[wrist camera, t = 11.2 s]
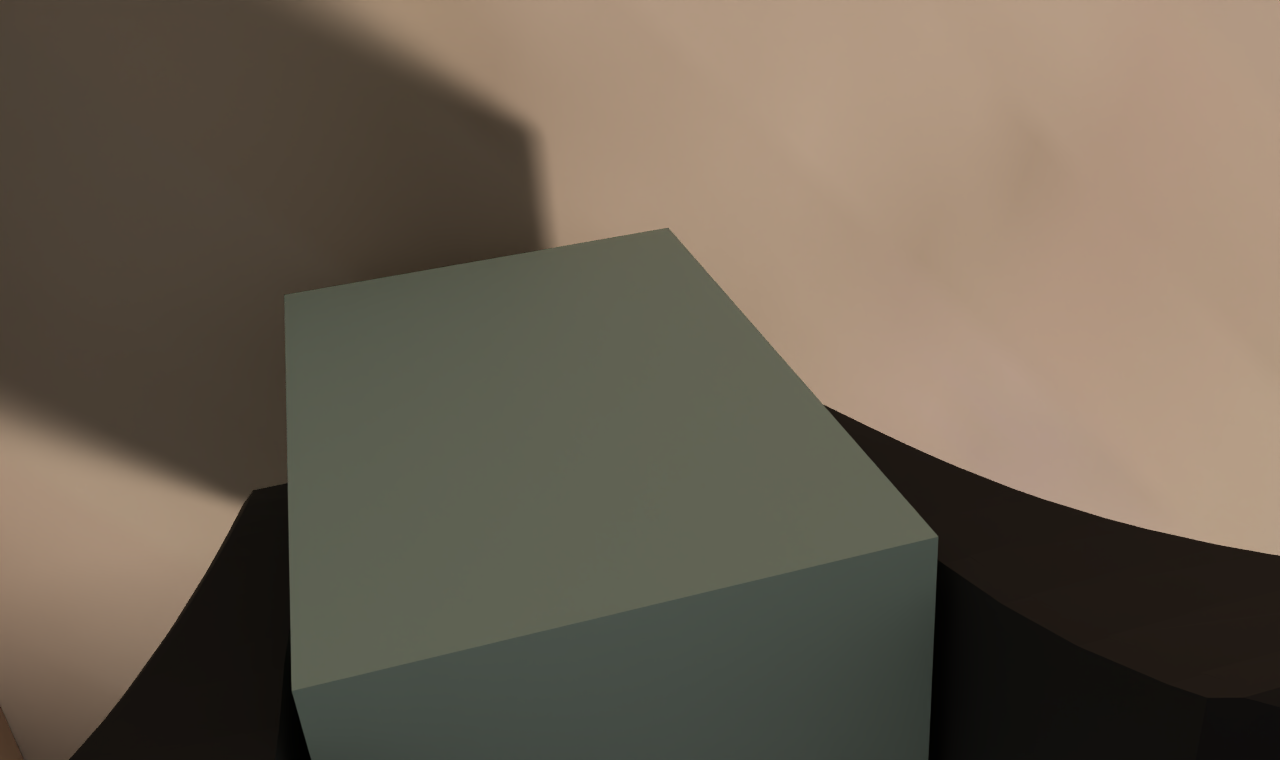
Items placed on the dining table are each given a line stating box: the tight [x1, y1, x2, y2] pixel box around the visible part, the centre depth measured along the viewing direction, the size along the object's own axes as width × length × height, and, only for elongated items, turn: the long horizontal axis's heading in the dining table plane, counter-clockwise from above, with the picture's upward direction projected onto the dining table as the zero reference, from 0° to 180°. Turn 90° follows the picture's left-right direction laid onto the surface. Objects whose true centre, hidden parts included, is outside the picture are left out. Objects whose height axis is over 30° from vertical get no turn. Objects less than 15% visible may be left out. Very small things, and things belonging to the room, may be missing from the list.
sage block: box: [284, 228, 938, 760], centre depth 11 cm, size 4×4×6 cm
